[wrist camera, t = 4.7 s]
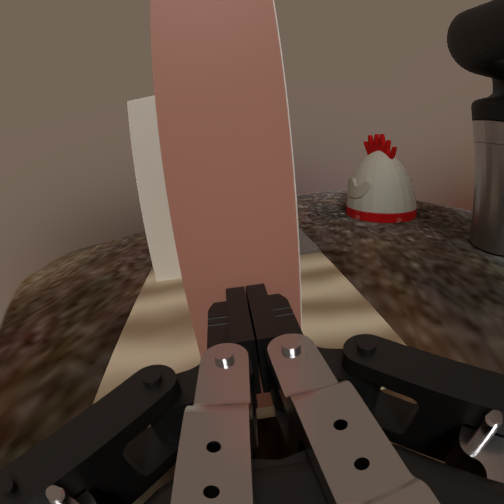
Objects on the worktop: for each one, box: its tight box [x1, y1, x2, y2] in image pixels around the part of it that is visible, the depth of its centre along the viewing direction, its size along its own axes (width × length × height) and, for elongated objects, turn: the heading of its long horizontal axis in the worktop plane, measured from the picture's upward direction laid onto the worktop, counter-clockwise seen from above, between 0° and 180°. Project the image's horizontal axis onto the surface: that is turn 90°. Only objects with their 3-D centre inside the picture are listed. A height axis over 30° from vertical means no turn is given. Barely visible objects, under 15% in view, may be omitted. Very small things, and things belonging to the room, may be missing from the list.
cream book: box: [127, 95, 182, 281], centre depth 33 cm, size 12×5×19 cm, turn 7°
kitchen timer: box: [346, 134, 417, 223], centre depth 50 cm, size 14×14×15 cm
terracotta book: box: [150, 0, 302, 408], centre depth 19 cm, size 18×5×22 cm, turn 7°
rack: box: [93, 196, 407, 427], centre depth 28 cm, size 32×20×6 cm, turn 7°
